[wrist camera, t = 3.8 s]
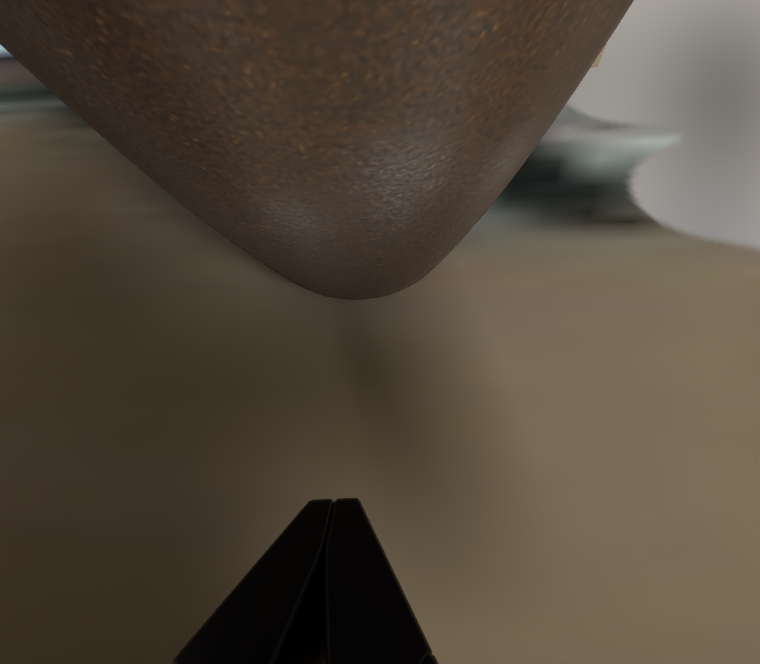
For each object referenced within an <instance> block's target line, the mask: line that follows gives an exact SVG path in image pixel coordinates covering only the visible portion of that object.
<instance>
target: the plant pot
mask: <svg viewBox="0 0 760 664" xmlns="http://www.w3.org/2000/svg"><path fill="white" fill-rule="evenodd" d="M633 1H634V0H0V44H1V45H2V46H3V47H4V48H5V49H6V50H7V51H8V52H9V53H10V54H12V55H13V56H14V57H15V58H16V59H17V60H18V61H19V62H20V63H21V64H22V65H23V66H24V67H26V68H27V69H28V70H29V71H30V72H31V73H32V74H33V75H34V76H35V77H36V78H37V79H39V80H40V81H41V82H42V83H43V84H44V85H45V86H46V87H47V88H48V89H49V90H50V91H52V92H53V93H54V94H55V95H56V96H57V97H58V98H59V99H60V100H62V101H63V102H64V103H65V104H66V105H67V106H68V107H70V108H71V109H72V110H73V111H74V112H75V113H76V114H77V115H79V116H80V117H81V118H82V119H83V120H84V121H85V122H87V123H88V124H89V125H90V126H91V127H92V128H93V129H94V130H96V131H97V132H98V133H99V134H100V135H101V136H102V137H104V138H105V139H106V140H107V141H108V142H109V143H110V144H111V145H113V146H114V147H115V148H116V149H117V150H118V151H119V152H121V153H122V154H123V155H124V156H125V157H126V158H128V159H129V160H130V161H131V162H132V163H133V164H135V165H136V166H137V167H138V168H139V169H141V170H142V171H143V172H144V173H145V174H146V175H148V176H149V177H150V178H151V179H152V180H154V181H155V182H156V183H157V184H158V185H159V186H161V187H162V188H163V189H164V190H165V191H167V192H168V193H169V194H170V195H171V196H173V197H174V198H175V199H176V200H178V201H179V202H180V203H181V204H183V205H184V206H185V207H186V208H187V209H189V210H190V211H191V212H192V213H194V214H195V215H196V216H197V217H199V218H200V219H202V220H203V221H204V222H206V223H207V224H208V225H210V226H211V227H212V228H214V229H215V230H217V231H218V232H219V233H221V234H222V235H223V236H225V237H226V238H228V239H229V240H230V241H232V242H233V243H234V244H236V245H237V246H239V247H240V248H241V249H243V250H244V251H246V252H247V253H249V254H250V255H252V256H253V257H255V258H256V259H258V260H259V261H261V262H262V263H264V264H265V265H267V266H268V267H270V268H271V269H273V270H275V271H277V272H278V273H280V274H282V275H283V276H285V277H287V278H289V279H290V280H292V281H294V282H296V283H298V284H299V285H301V286H303V287H305V288H307V289H309V290H311V291H314V292H316V293H319V294H322V295H325V296H329V297H336V298H343V299H368V298H376V297H381V296H385V295H389V294H392V293H395V292H397V291H399V290H402V289H404V288H406V287H409V286H410V285H412V284H414V283H416V282H417V281H419V280H420V279H422V278H423V277H424V276H425V275H426V274H428V273H429V272H430V271H431V270H432V269H433V268H434V267H435V266H436V265H437V264H438V263H439V262H441V261H442V260H443V259H444V258H445V256H446V255H447V254H448V253H449V252H450V251H451V250H452V249H453V248H454V247H455V246H456V245H457V244H458V243H459V242H460V241H461V240H462V239H463V237H464V236H465V235H466V234H467V233H468V232H469V231H470V229H471V228H472V227H473V226H474V225H475V224H476V223H477V221H478V220H479V219H480V218H481V217H482V216H483V215H484V213H485V212H486V211H487V210H488V208H489V207H490V206H491V205H492V203H493V202H494V201H495V200H496V199H497V197H498V196H499V195H500V194H501V192H502V191H503V190H504V189H505V187H506V186H507V185H508V183H509V182H510V181H511V179H512V178H513V177H514V176H515V174H516V173H517V172H518V170H519V169H520V168H521V166H522V165H523V164H524V162H525V161H526V160H527V158H528V157H529V155H530V154H531V153H532V151H533V150H534V148H535V147H536V146H537V144H538V143H539V141H540V140H541V139H542V137H543V136H544V134H545V133H546V132H547V130H548V129H549V127H550V126H551V125H552V123H553V122H554V120H555V119H556V117H557V116H558V114H559V113H560V112H561V110H562V109H563V107H564V106H565V104H566V103H567V101H568V100H569V98H570V97H571V95H572V94H573V92H574V91H575V90H576V88H577V87H578V85H579V84H580V82H581V81H582V79H583V77H584V76H585V75H586V73H587V72H588V70H589V69H590V67H591V66H592V65H593V63H594V61H595V60H596V58H597V57H598V55H599V54H600V52H601V51H602V49H603V48H604V46H605V45H606V43H607V41H608V40H609V38H610V37H611V35H612V34H613V32H614V31H615V29H616V28H617V26H618V24H619V23H620V21H621V20H622V18H623V17H624V15H625V13H626V12H627V10H628V9H629V7H630V5H631V4H632V2H633Z"/></svg>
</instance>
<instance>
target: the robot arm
mask: <svg viewBox="0 0 760 664" xmlns="http://www.w3.org/2000/svg"><path fill="white" fill-rule="evenodd" d="M173 664H438V662H437V660H436V658H435V656H434V655H432V650H431V648H430V646H429V644H428V642H427V640H426V638H425V635H424V633H423V631H422V629H421V627H420V625H419V623H418V621H417V619H416V617H415V615H414V613H413V610H412V608H411V606H410V604H409V602H408V600H407V598H406V596H405V594H404V592H403V590H402V588H401V585H400V583H399V581H398V579H397V577H396V575H395V573H394V571H393V569H392V567H391V565H390V562H389V560H388V558H387V556H386V554H385V552H384V550H383V548H382V546H381V544H380V542H379V540H378V537H377V535H376V533H375V531H374V529H373V527H372V525H371V523H370V521H369V519H368V517H367V515H366V512H365V510H364V508H363V506H362V504H361V502H360V500H359V499H357V498H342V499H337V500H336V501H335V502H334V501H333V500H332V499H318V500H311V501H309V502H308V503H307V504H306V505H305V507H304V508H303V509H302V510H301V511H300V512H299V514H298V515H297V516H296V517H295V518H294V519H293V521H292V522H291V523H290V524H289V525H288V526H287V528H286V529H285V530H284V531H283V532H282V533H281V535H280V536H279V537H278V538H277V539H276V540H275V542H274V543H273V544H272V545H271V546H270V547H269V549H268V550H267V551H266V552H265V553H264V554H263V556H262V557H261V558H260V559H259V560H258V561H257V563H256V564H255V565H254V566H253V567H252V568H251V570H250V571H249V572H248V573H247V574H246V575H245V577H244V578H243V579H242V580H241V581H240V582H239V584H238V585H237V586H236V587H235V588H234V589H233V591H232V592H231V593H230V594H229V595H228V596H227V598H226V599H225V600H224V601H223V602H222V603H221V605H220V606H219V607H218V608H217V609H216V610H215V612H214V613H213V614H212V615H211V616H210V617H209V619H208V620H207V621H206V622H205V623H204V625H203V626H202V627H201V628H200V629H199V630H198V632H197V633H196V634H195V635H194V636H193V637H192V639H191V640H190V641H189V642H188V643H187V644H186V646H185V647H184V648H183V649H182V650H181V651H180V653H179V654H178V655H177V656H176V657H175V658H174V660H173Z"/></svg>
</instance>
